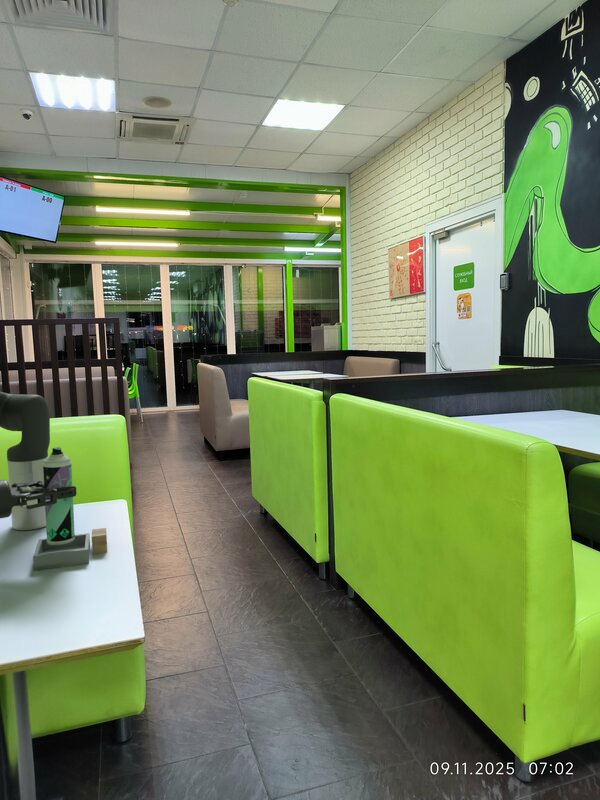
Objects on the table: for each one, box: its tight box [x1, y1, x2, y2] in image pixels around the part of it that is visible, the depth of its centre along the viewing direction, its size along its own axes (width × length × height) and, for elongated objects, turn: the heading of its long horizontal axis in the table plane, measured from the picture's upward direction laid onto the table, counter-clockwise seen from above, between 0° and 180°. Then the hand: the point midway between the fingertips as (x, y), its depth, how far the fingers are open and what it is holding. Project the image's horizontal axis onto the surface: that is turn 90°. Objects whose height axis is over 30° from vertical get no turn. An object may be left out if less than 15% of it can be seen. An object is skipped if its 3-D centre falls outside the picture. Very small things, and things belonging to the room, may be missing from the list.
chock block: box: [91, 527, 108, 555], centre depth 124 cm, size 5×3×4 cm, turn 19°
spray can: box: [43, 447, 76, 545], centre depth 117 cm, size 6×6×20 cm
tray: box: [32, 532, 91, 572], centre depth 119 cm, size 10×10×3 cm
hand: (70, 487), depth 119 cm, fingers closed on spray can, 5 cm apart
